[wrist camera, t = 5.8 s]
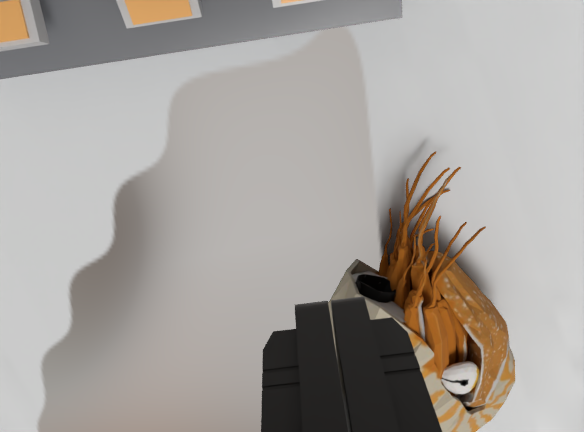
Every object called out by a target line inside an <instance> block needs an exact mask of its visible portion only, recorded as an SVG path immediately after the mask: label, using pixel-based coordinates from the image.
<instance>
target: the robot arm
mask: <svg viewBox="0 0 584 432" xmlns="http://www.w3.org/2000/svg"><path fill="white" fill-rule="evenodd" d="M331 310H332V319H333V328H334V337H335V343H334V337H333V330H332V324H331V318H330V311H329V305H328V301H322V302H314V303H307V304H298V305H295V316H296V329H292V330H283V331H275V332H273V333H272V335H271V336H270V338H269V340H268V342H267V344H266V345H265V347H264V349H263V374H262V377H263V378H262V388H263V391H262V420H261V423H262V425H261V432H442V429H441V427H440V424H439V421H438V418H437V415H436V412H435V409H434V406H433V404H432V401H431V398H430V395H429V392H428V389H427V386H426V383H425V381H424V378H423V375H422V372H421V371H420V366H419V363H418V360H417V358H416V356H415V352H414V349H413V346H412V343H411V340H410V337H409V335H408V332H407V331H406V330H405V329H404V328H403V327H402V326H401V325H400V324H399V323H398V322H396V321H395V320H394V319H393V318H392V317H390V318H382V319H374V320H370V316H369V313H368V309H367V305H366V301H365V298H364V296H363V297H354V298H346V299H338V300H331ZM335 346H336V350H335ZM336 355H337V356H336Z"/></svg>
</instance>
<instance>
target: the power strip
mask: <svg viewBox="0 0 584 432" xmlns="http://www.w3.org/2000/svg"><path fill="white" fill-rule="evenodd" d="M39 1H40V5H41V10H42V14H43V18H44V22H45V26H46V30H47V35H48V39H49V43H50V44H46V45H39V46H33V47H26V48H20V49H14V50H7V51H1V52H0V79H5V78H11V77H18V76H24V75H31V74H37V73H44V72H50V71H57V70H63V69H70V68H76V67H83V66H89V65H96V64H102V63H109V62H115V61H122V60H128V59H135V58H142V57H148V56H155V55H161V54H168V53H174V52H181V51H187V50H194V49H200V48H207V47H213V46H220V45H226V44H233V43H239V42H246V41H252V40H259V39H265V38H272V37H278V36H285V35H291V34H298V33H304V32H311V31H317V30H324V29H330V28H337V27H343V26H350V25H356V24H363V23H370V22H376V21H383V20H389V19H396V18H402V0H322V1H315V2H309V3H302V4H296V5H289V6H283V7H276V8H273V3H272V0H201V5H202V17H199V18H192V19H186V20H179V21H173V22H166V23H160V24H153V25H147V26H140V27H134V28H126V25H125V22H124V20H123V17H122V14H121V12H120V9H119V7H118V4H117V1H116V0H39Z"/></svg>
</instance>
